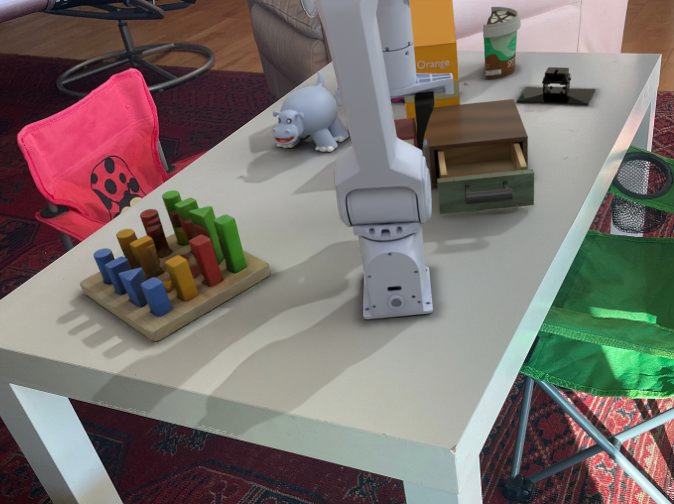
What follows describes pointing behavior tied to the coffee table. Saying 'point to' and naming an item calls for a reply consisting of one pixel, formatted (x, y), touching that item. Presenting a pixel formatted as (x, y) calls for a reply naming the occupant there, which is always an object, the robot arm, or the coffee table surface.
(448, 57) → the orange juice
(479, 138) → the cabinet
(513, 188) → the drawer
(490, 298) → the coffee table surface
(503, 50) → the food container
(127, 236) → the peg board
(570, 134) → the coffee table surface
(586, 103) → the build plate
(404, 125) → the book
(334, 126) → the hippopotamus toy
